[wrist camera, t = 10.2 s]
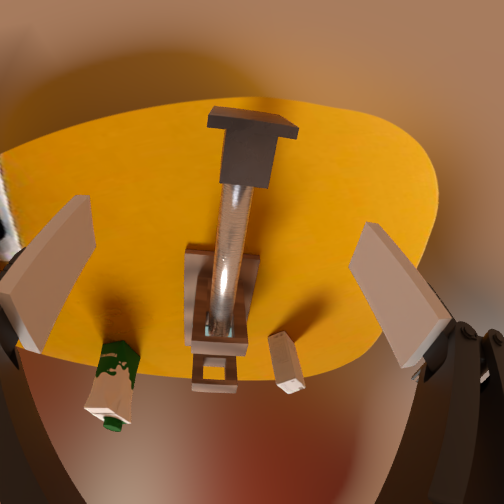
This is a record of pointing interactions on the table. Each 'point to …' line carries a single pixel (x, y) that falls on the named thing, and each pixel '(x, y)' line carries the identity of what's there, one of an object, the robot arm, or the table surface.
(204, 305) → the bearing stand
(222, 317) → the shaft
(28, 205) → the table surface
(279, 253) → the table surface
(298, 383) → the skincare box
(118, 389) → the milk carton
